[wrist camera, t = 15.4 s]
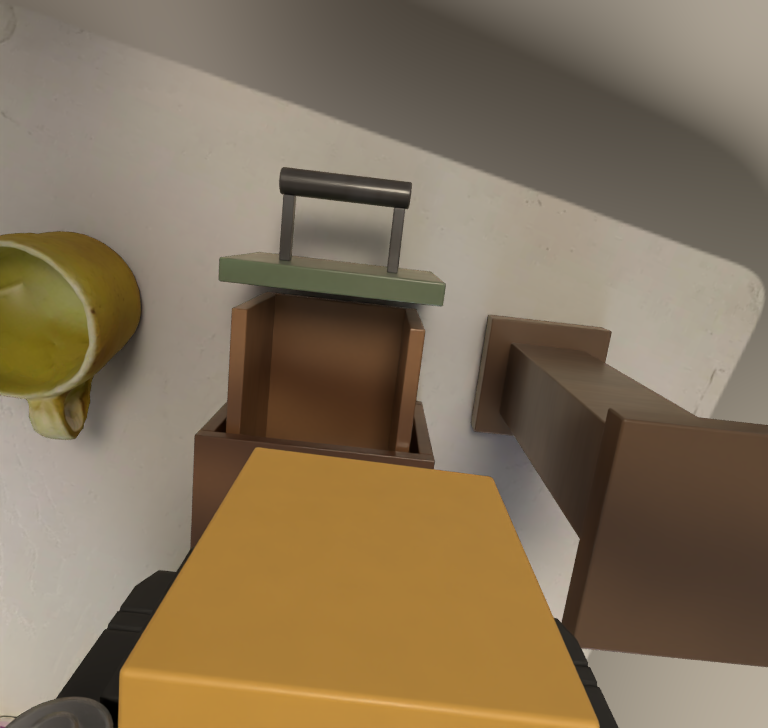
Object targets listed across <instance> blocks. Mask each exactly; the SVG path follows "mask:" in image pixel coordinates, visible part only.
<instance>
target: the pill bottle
mask: <svg viewBox="0 0 768 728" xmlns="http://www.w3.org/2000/svg"><path fill="white" fill-rule="evenodd" d="M14 719H15V718H13V717H0V728H5V727H6V726H7V725H8V724H9V723H10V722H11V721H12V720H14Z"/></svg>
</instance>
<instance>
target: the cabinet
mask: <svg viewBox="0 0 768 728" xmlns="http://www.w3.org/2000/svg"><path fill="white" fill-rule="evenodd" d="M226 418H227V402H226V403H225V404H224V405H223V406H222V408H221V409H220V410H219V411H218V412H217V413H216V414H215V415H214V416H213V417H212V418H211V419H210V420H209V421H208V422H207V423H206V424H205V425H204V426H203V427H202V428H201V430H199V431H198V432H197V433H196V435H195V443H194V470H193V496H192V523H191V548H192V547H194V546H196V545H197V543H198V541H199V540H200V538H201V536H202V535H203V533H204V531H205V530H206V528H207V526H208V525H209V523H210V521H211V520H212V518H213V517H214V515H215V513H216V512H217V510H218V508H219V507H220V505H221V503H222V502H223V500H224V498H225V497H226V495H227V493H228V492H229V490H230V489H231V487H232V485H233V484H234V482H235V480H236V479H237V477H238V475H239V474H240V472H241V470H242V469H243V467H244V465H245V464H246V462H247V461H248V459H249V457H250V456H251V454H252V452H253V451H254V449H255V448H257V447H260V448H268V449H276V450H284V451H292V452H299V453H307V454H315V455H323V456H331V457H339V458H347V459H355V460H363V461H370V462H378V463H386V464H394V465H402V466H410V467H418V468H426V469H434V464H435V460H434V456H433V452H432V447H431V443H430V438H429V433H428V429H427V424H426V419H425V415H424V410H423V405H422V402H420V401H416V405H415V412H414V420H413V427H412V435H411V442H410V450H409V453H406V452H397V451H388V450H378V449H369V448H360V447H351V446H342V445H332V444H323V443H314V442H305V441H296V440H286V439H277V438H268V437H259V436H249V435H240V434H231V433H226Z"/></svg>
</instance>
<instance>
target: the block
mask: <svg viewBox="0 0 768 728" xmlns="http://www.w3.org/2000/svg"><path fill="white" fill-rule="evenodd" d="M599 727H600V726H599V721H598V719H597V717H596V714H595V712H594V710H593V707H592V705H591V703H590V701H589V698H588V696H587V694H586V691H585V689H584V687H583V684H582V682H581V680H580V678H579V675H578V673H577V671H576V668H575V666H574V664H573V661H572V659H571V657H570V655H569V652H568V650H567V648H566V645H565V643H564V641H563V639H562V636H561V634H560V632H559V629H558V627H557V625H556V622H555V620H554V618H553V616H552V613H551V611H550V609H549V606H548V604H547V602H546V599H545V597H544V595H543V593H542V590H541V588H540V586H539V583H538V581H537V579H536V576H535V574H534V572H533V570H532V567H531V565H530V563H529V560H528V558H527V556H526V554H525V551H524V549H523V547H522V544H521V542H520V540H519V537H518V535H517V533H516V531H515V528H514V526H513V524H512V521H511V519H510V517H509V514H508V512H507V510H506V508H505V505H504V503H503V501H502V498H501V496H500V494H499V492H498V489H497V487H496V485H495V482H494V480H493V478H491V477H489V476H481V475H473V474H465V473H457V472H449V471H441V470H434V469H426V468H418V467H410V466H402V465H394V464H386V463H378V462H370V461H363V460H355V459H347V458H339V457H331V456H323V455H315V454H307V453H299V452H292V451H284V450H276V449H268V448H260V447H257V448H255V449H254V451H253V452H252V454H251V456H250V457H249V459H248V461H247V462H246V464H245V465H244V467H243V469H242V470H241V472H240V474H239V475H238V477H237V479H236V480H235V482H234V484H233V485H232V487H231V489H230V490H229V492H228V493H227V495H226V497H225V498H224V500H223V502H222V503H221V505H220V507H219V508H218V510H217V512H216V513H215V515H214V517H213V518H212V520H211V521H210V523H209V525H208V526H207V528H206V530H205V531H204V533H203V535H202V536H201V538H200V540H199V541H198V543H197V545H196V546H195V548H194V549H193V551H192V553H191V554H190V556H189V558H188V559H187V561H186V563H185V564H184V566H183V568H182V569H181V571H180V573H179V574H178V576H177V577H176V579H175V581H174V582H173V584H172V586H171V587H170V589H169V591H168V592H167V594H166V596H165V597H164V599H163V601H162V602H161V604H160V605H159V607H158V609H157V610H156V612H155V614H154V615H153V617H152V619H151V620H150V622H149V624H148V625H147V627H146V629H145V630H144V632H143V633H142V635H141V637H140V638H139V640H138V642H137V643H136V645H135V647H134V648H133V650H132V652H131V653H130V655H129V657H128V658H127V660H126V661H125V663H124V665H123V666H122V668H121V670H120V676H119V712H118V728H599Z"/></svg>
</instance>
